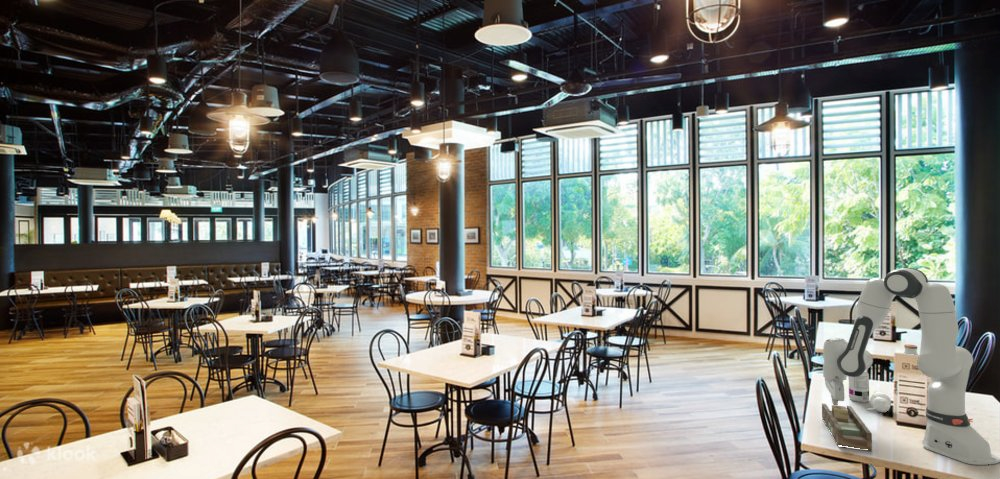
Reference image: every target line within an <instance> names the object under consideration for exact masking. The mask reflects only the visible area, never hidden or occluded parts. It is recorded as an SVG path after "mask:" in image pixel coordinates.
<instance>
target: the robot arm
mask: <svg viewBox="0 0 1000 479" xmlns="http://www.w3.org/2000/svg"><path fill="white" fill-rule="evenodd" d="M896 296H898V297H904V298H908V299H914V300H915V301H916V304H917V309H918V316H919V323H920V329H921V330H920V331H921V336H920V337H921V340H920V351H919V354H918V356H919V357H918V360H917V366H918V368H919V370H920V371H921V372H922V373H923V375H924V376H925V377H929V378H930V381H929V384H928V386H927V387H926V388H927V389H926V396H927V397H926V399H927V403H926V404H927V406H926V408H925V417H926V425H925V426H926V428H925V433H924V436H923V440H922V445H923V449H927V450H929V451H932V452H934V453H937V454H939V455H943V456H946V457H948V458H951V459H954V460H956V461H959V462H962V463H965V464H968V465H974V466H975V465H979V466H980V465H981V466H987V465H988V464H989V465H996V464H998V463H1000V457H998V456H996V455H994V454H992V451H991V445H990V443H989V441H987V440H986V439H985V438H984V437H983V436H982V435H981V434H980V433H979V432H978V431H977V430H976V429H975V428H974V427H972V426H971V423H973V422H974V421H973V420H974V418H969V417H968V415H967V412H966V390H967V385H968V381H969V377H970V372H971V371H970V370H971V367H972V365H973V363H974V357H973V355H972V353H971V352H970V351H969V350H968V349H966V348H964V347H962V346H958V345H957V340H958V336H959V334H960V333H959V332H960V330H959V325H958V324H959V323H958V318H957V313H956V307H955V303H954V300H953V297H952V294H951V292H950V290H949V288H948V287H947V286H946V285H943V284H940V283H929V281H928V277H927V275H926V274H925V273H924V272H922V270H920V269H917V268H911V267H909V268H906V267H905V268H904V267H902V268H897V269H894V270H892V271H891V270H890V272H888V273H887V274H886V275H885V276H884V278H871V279H869V280H867V281H866V282H865V285H864V286H863V288H862V290H861V292H860V296H859V299H858V302H857V306H856V311H855V317H854V322H853V327H852V330H851V334H850V337H849V340H848V341H847V340H845V339H844V338H842V337H840V338H839V337H834V338H833V337H832V338H828V339H826V340H825V341H824V344H823V348H822V358H823V364H822V376H823V378H824V384H825V387H826V389H827V391H828V392H829V393H830V398H831V403H832V405H835V406H839V402H844V401H845V399H846V398H845V397H846V396H845V385H844V381H846V380H847V377H849V376H850V377H857V376H860V375H862V374H863V372H864V371H865V370H867V371H868V369H869V368H871V366H872V365H873V363H874V357H873V356H872V354H871V352H870V351H868V350H867V346H868V343H869V341H870V337H871V336H872V334H873V333H874V332H875V330H877V329H878V328H879V327H880V326H882V324H883V323H884V322H885V320H886V318H887V317H888V315H889V313H890V310H891V306H892V302H893V300H894V298H895V297H896Z"/></svg>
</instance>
